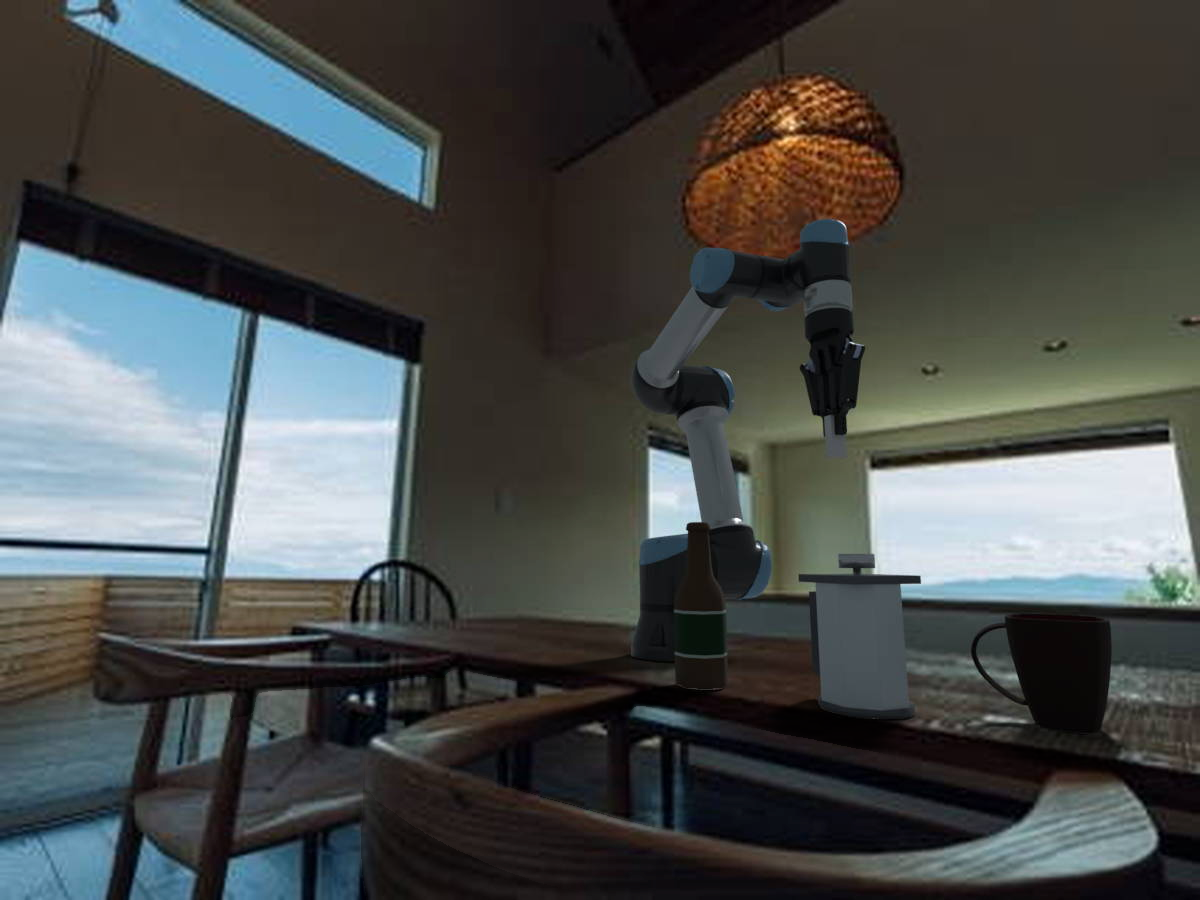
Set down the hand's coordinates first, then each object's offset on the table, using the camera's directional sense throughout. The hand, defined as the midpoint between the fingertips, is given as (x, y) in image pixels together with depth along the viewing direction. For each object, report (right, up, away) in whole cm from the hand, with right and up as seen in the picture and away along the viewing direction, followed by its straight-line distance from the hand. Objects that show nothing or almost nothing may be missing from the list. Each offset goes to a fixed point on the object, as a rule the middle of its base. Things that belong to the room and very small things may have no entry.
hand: (836, 456), depth 102 cm
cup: (+14, -30, -28) cm, 44 cm away
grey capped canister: (-5, -32, -19) cm, 37 cm away
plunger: (-4, -21, -19) cm, 29 cm away
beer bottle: (-22, -34, -7) cm, 41 cm away
